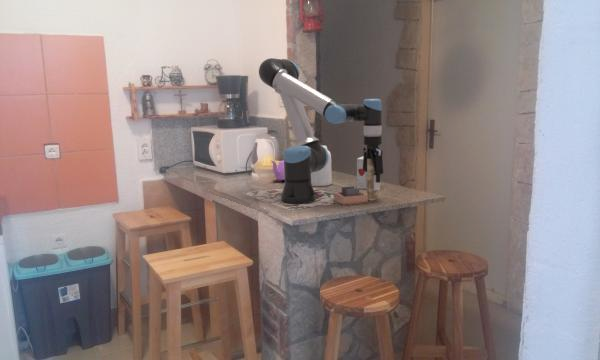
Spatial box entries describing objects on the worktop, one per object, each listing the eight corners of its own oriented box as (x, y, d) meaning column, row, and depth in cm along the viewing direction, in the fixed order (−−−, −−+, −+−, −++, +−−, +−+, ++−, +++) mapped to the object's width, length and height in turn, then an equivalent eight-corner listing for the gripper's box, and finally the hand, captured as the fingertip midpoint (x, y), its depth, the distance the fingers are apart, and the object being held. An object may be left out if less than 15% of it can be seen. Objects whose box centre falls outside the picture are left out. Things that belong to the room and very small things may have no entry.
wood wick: (369, 200, 209) (369, 159, 206) (367, 199, 211) (367, 158, 208) (378, 199, 210) (378, 158, 207) (375, 198, 212) (375, 158, 209)
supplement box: (356, 188, 235) (356, 158, 233) (362, 185, 243) (362, 155, 241) (373, 189, 231) (374, 159, 229) (379, 186, 239) (380, 156, 236)
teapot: (280, 185, 249) (279, 161, 247) (263, 182, 260) (262, 159, 257) (308, 180, 262) (308, 157, 260) (291, 177, 273) (291, 155, 270)
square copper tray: (343, 205, 201) (343, 191, 199) (333, 200, 211) (333, 186, 210) (367, 203, 204) (367, 189, 203) (356, 198, 214) (356, 184, 213)
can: (322, 187, 240) (321, 147, 236) (302, 185, 248) (301, 146, 244) (336, 183, 250) (335, 145, 246) (316, 181, 257) (315, 144, 254)
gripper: (392, 136, 197) (391, 191, 201) (370, 133, 216) (370, 183, 220) (375, 137, 195) (375, 193, 199) (354, 134, 214) (355, 184, 218)
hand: (372, 187), depth 209 cm, fingers open, 8 cm apart
